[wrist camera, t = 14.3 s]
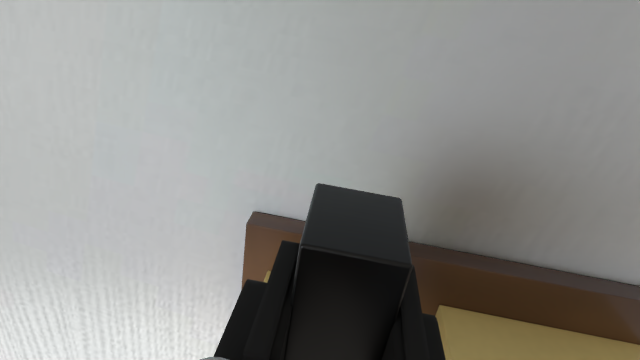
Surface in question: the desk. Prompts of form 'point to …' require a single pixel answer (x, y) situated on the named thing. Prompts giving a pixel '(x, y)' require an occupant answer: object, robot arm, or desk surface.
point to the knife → (348, 276)
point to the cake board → (483, 285)
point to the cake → (520, 340)
